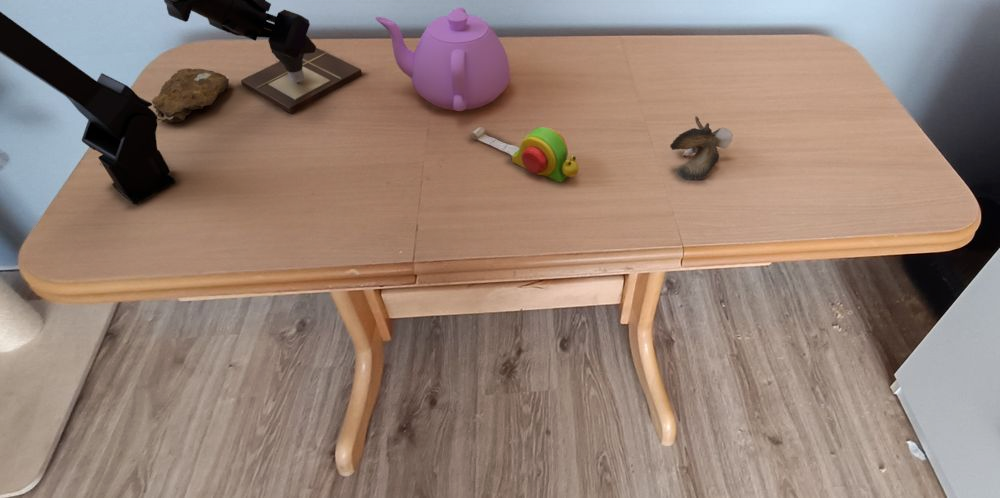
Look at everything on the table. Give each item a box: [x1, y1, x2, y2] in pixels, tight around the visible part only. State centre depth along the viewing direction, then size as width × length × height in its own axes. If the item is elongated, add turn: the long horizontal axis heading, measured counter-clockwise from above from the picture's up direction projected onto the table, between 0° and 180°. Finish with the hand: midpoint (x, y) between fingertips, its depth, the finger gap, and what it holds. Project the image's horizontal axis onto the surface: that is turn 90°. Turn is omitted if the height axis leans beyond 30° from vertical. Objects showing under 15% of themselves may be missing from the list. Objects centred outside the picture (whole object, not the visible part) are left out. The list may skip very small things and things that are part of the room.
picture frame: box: [240, 47, 363, 115], centre depth 106 cm, size 16×14×1 cm
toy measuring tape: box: [470, 126, 580, 183], centre depth 88 cm, size 6×20×7 cm, turn 51°
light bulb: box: [270, 48, 304, 84], centre depth 99 cm, size 6×6×10 cm
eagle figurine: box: [669, 115, 734, 181], centre depth 88 cm, size 8×7×9 cm
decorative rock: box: [151, 68, 230, 124], centre depth 100 cm, size 11×4×15 cm
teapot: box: [375, 7, 511, 112], centre depth 99 cm, size 22×22×14 cm
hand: (295, 42), depth 99 cm, fingers open, 9 cm apart
